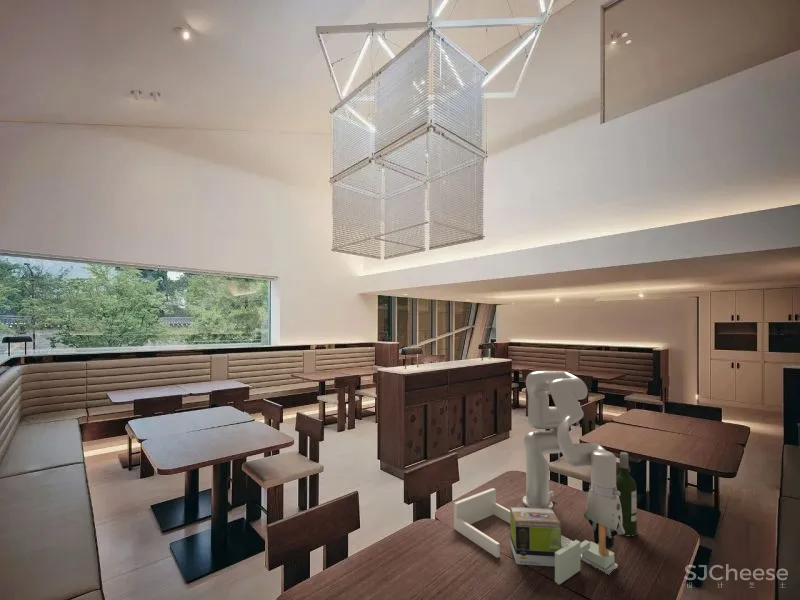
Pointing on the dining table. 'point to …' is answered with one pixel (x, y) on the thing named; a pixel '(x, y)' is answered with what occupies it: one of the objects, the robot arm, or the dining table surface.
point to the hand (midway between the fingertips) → (603, 544)
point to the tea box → (534, 535)
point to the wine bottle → (627, 496)
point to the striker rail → (608, 570)
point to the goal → (479, 518)
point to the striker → (570, 555)
